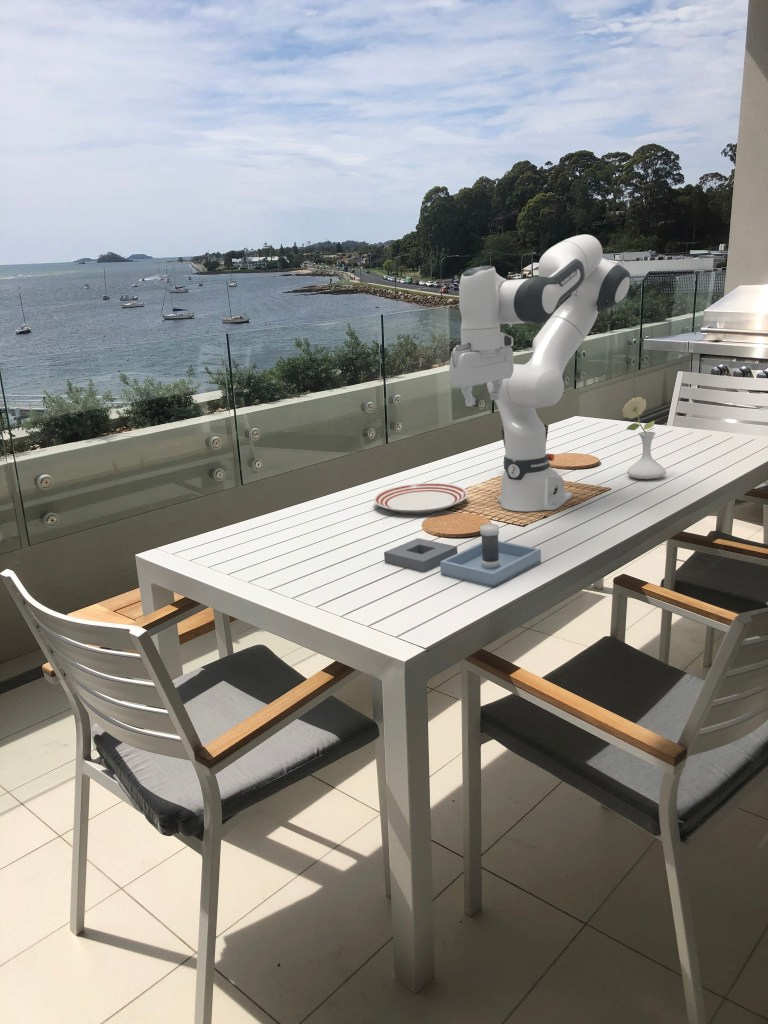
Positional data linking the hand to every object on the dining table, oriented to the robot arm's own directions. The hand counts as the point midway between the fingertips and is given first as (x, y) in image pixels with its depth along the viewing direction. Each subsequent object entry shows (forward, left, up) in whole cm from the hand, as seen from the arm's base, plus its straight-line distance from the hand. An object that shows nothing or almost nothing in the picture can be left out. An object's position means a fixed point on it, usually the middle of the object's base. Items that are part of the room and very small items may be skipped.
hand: (483, 402), depth 175 cm
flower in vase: (-75, +4, -34) cm, 83 cm away
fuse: (+14, +11, -33) cm, 38 cm away
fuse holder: (+18, -6, -34) cm, 39 cm away
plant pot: (-62, -30, -34) cm, 77 cm away
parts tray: (+14, +11, -34) cm, 38 cm away
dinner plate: (-18, -37, -34) cm, 54 cm away
